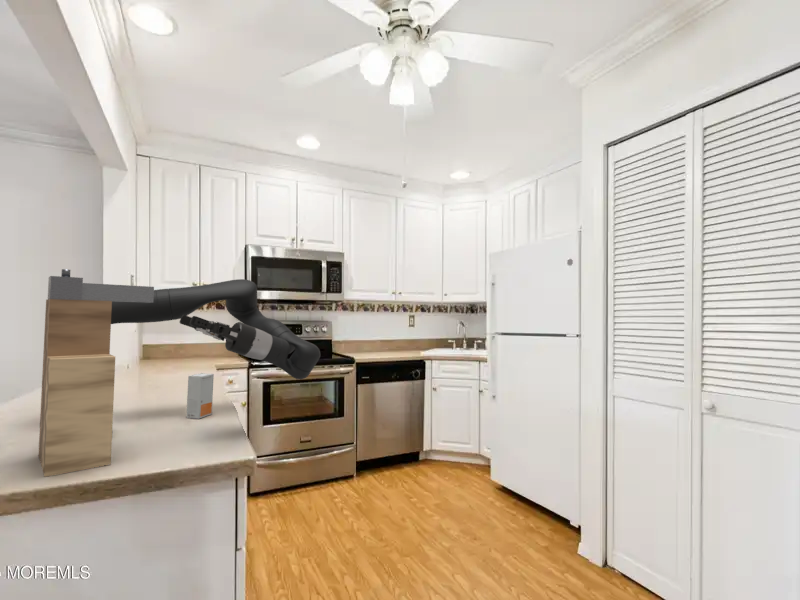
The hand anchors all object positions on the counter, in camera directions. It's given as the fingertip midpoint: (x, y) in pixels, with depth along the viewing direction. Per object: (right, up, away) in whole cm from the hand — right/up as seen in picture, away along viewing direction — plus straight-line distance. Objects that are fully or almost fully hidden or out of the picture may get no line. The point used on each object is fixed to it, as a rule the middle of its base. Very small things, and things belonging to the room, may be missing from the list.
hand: (185, 319), depth 100 cm
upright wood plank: (-15, -28, -14) cm, 35 cm away
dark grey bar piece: (-13, +4, -9) cm, 16 cm away
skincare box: (-8, -29, +24) cm, 38 cm away
